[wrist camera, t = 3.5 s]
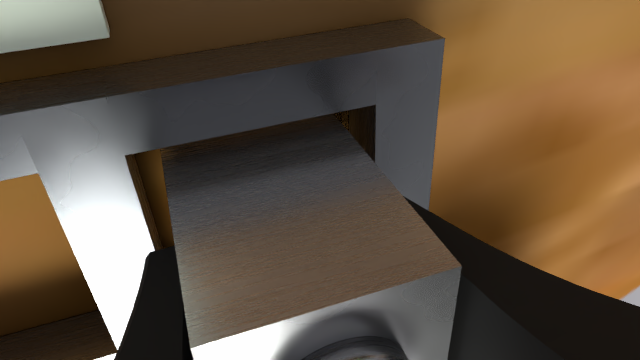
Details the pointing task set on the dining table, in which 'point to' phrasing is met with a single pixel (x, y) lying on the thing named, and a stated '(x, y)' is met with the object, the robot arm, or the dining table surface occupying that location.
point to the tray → (50, 23)
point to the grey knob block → (303, 250)
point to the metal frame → (193, 125)
